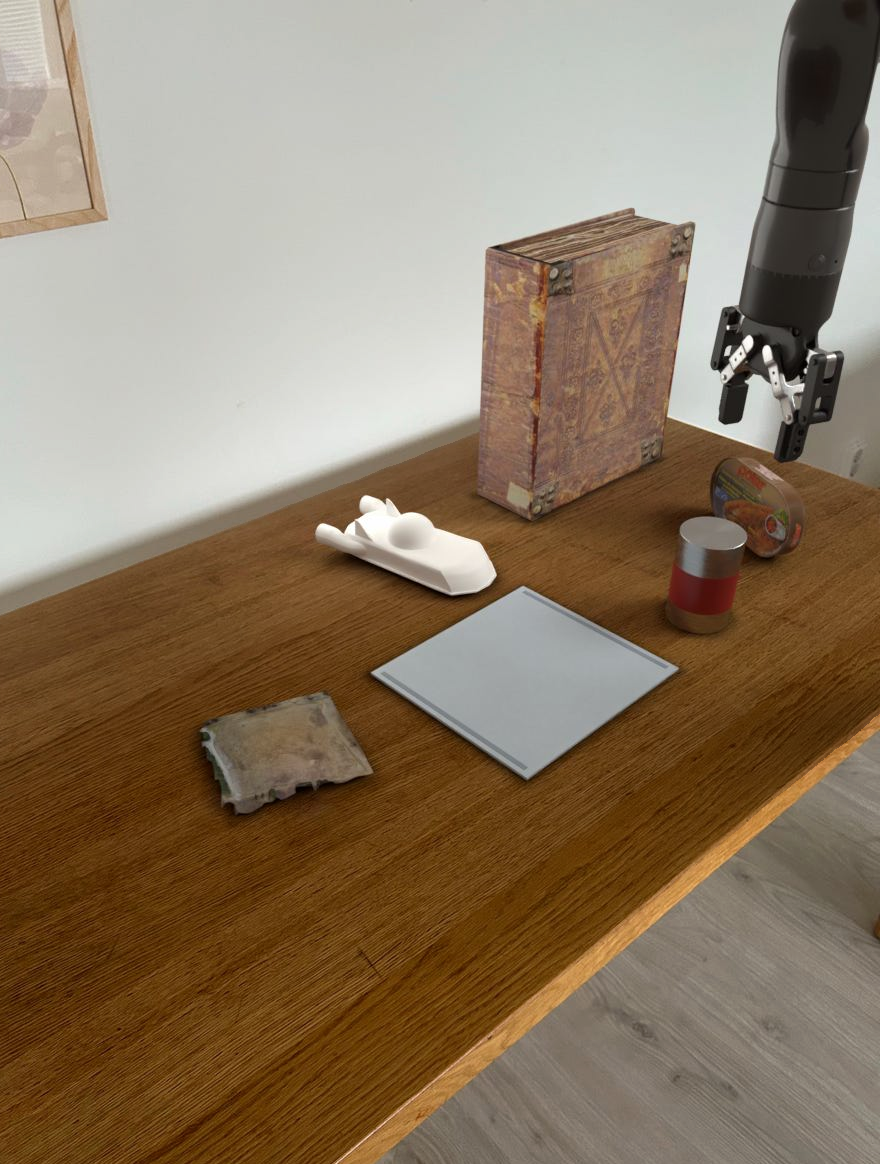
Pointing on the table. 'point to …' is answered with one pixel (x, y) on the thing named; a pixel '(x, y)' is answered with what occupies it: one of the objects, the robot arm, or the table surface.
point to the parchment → (281, 750)
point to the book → (578, 357)
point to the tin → (758, 505)
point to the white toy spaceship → (412, 548)
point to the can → (705, 574)
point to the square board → (524, 679)
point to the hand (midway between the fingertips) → (756, 440)
